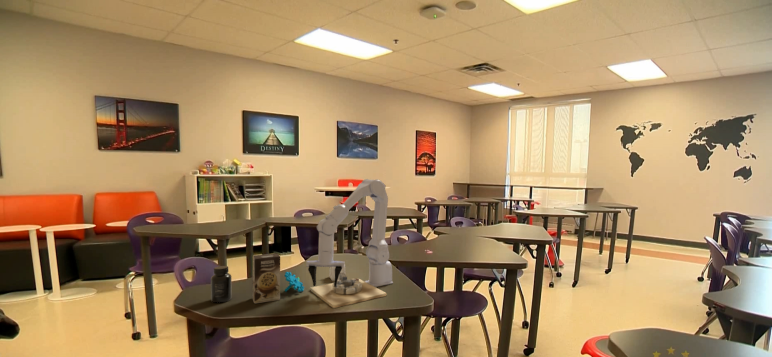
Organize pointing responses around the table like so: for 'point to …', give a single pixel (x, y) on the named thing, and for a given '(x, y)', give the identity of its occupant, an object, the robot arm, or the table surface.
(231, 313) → the table surface
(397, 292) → the table surface
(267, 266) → the cookie box
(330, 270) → the cream cube
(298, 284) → the gear
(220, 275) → the supplement bottle
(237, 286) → the table surface
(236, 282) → the table surface
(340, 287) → the faceted metal ring
